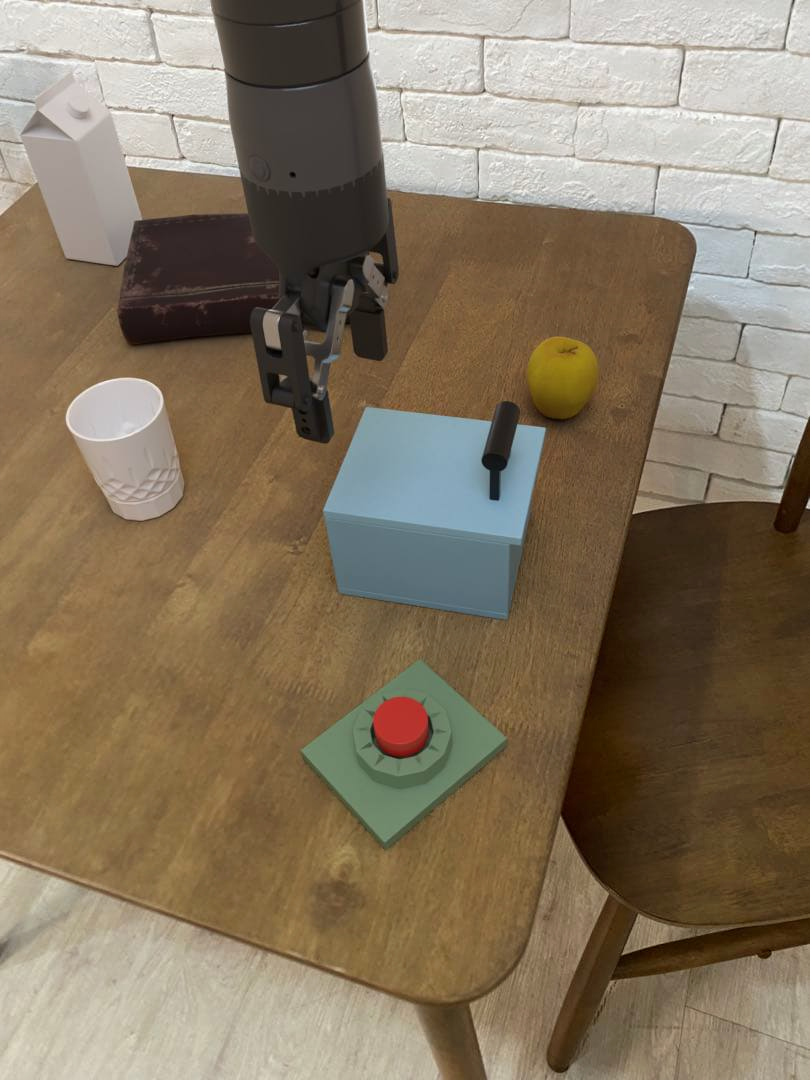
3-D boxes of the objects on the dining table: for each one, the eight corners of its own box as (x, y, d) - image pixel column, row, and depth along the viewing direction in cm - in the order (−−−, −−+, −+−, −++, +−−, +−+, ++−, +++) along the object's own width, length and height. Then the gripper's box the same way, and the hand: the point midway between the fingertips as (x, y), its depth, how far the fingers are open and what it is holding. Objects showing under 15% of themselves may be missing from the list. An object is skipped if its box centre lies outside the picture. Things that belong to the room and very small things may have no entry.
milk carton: (65, 260, 111) (4, 96, 97) (97, 229, 115) (43, 68, 101) (117, 267, 109) (63, 102, 95) (147, 235, 113) (100, 73, 99)
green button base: (420, 667, 69) (418, 643, 67) (507, 746, 65) (508, 724, 62) (302, 758, 65) (295, 736, 63) (385, 850, 60) (382, 830, 58)
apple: (591, 436, 85) (600, 365, 79) (521, 429, 86) (524, 359, 80) (596, 390, 89) (604, 320, 83) (529, 385, 90) (532, 315, 84)
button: (404, 700, 65) (403, 686, 63) (439, 734, 63) (439, 720, 61) (364, 732, 63) (361, 718, 62) (399, 767, 61) (397, 754, 60)
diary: (366, 327, 98) (362, 285, 94) (128, 352, 98) (114, 311, 94) (357, 234, 110) (353, 194, 107) (146, 255, 110) (134, 216, 106)
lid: (545, 435, 72) (549, 377, 68) (521, 546, 65) (523, 489, 61) (366, 414, 75) (359, 357, 71) (323, 518, 68) (313, 462, 64)
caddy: (530, 512, 79) (535, 434, 73) (507, 620, 72) (509, 545, 65) (376, 491, 82) (366, 414, 75) (338, 593, 75) (323, 518, 68)
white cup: (134, 455, 87) (102, 369, 80) (207, 474, 85) (181, 388, 77) (85, 514, 82) (45, 428, 75) (160, 536, 80) (127, 450, 72)
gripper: (316, 230, 43) (353, 482, 55) (427, 97, 51) (438, 341, 63) (175, 208, 45) (241, 455, 57) (304, 84, 54) (338, 322, 66)
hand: (345, 395), depth 60 cm, fingers open, 8 cm apart
